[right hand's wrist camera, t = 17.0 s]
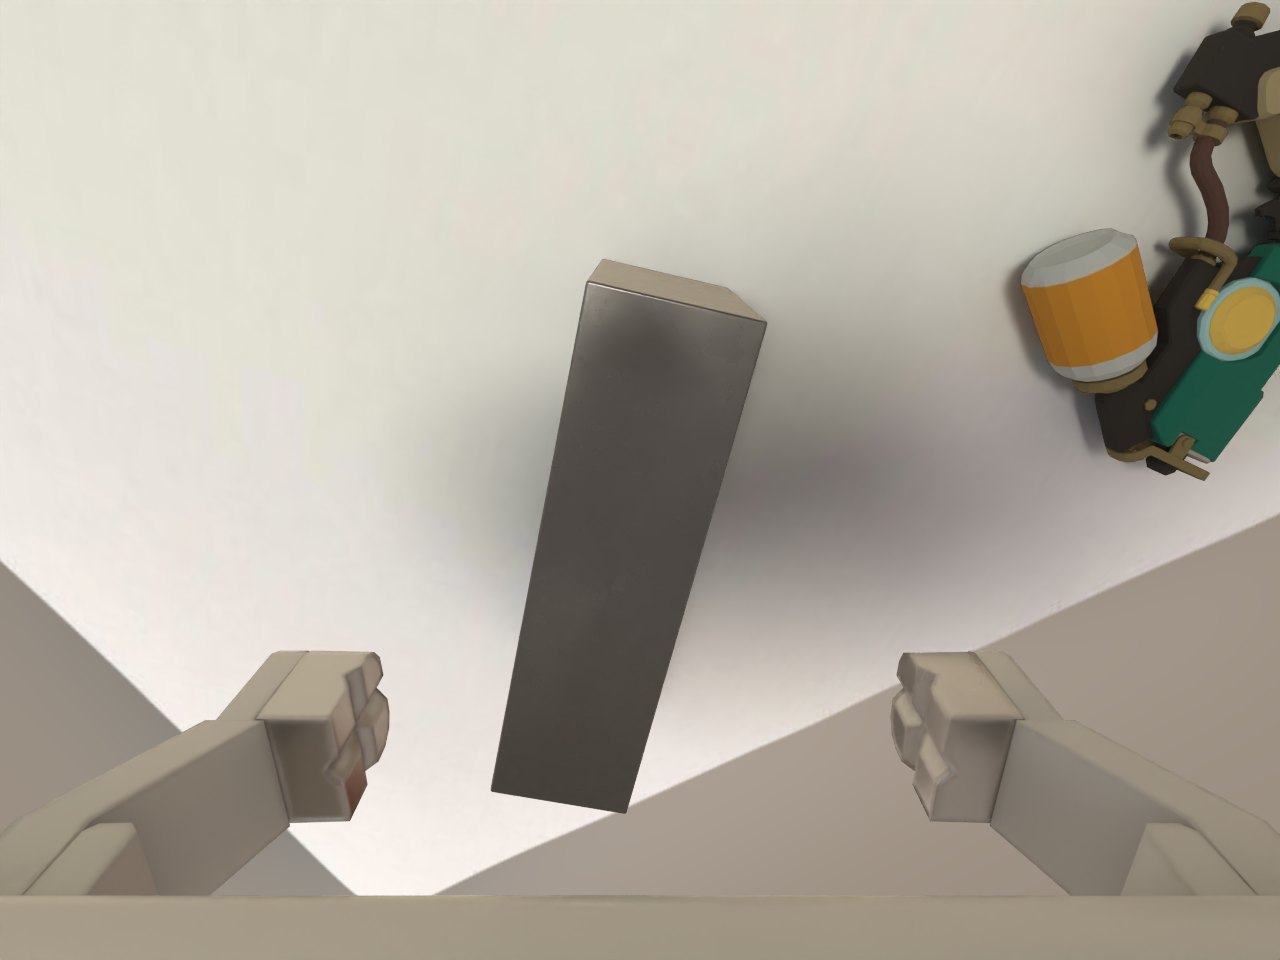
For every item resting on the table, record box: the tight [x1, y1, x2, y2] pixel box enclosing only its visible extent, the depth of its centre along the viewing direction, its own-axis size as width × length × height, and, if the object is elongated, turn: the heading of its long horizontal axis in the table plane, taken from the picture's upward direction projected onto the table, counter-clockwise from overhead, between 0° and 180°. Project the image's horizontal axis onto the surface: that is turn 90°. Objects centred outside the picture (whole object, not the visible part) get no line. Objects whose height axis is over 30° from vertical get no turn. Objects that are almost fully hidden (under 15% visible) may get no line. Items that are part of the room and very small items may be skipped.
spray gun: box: [1021, 2, 1280, 481], centre depth 29 cm, size 4×17×15 cm
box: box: [491, 259, 767, 814], centre depth 30 cm, size 22×6×10 cm, turn 167°
